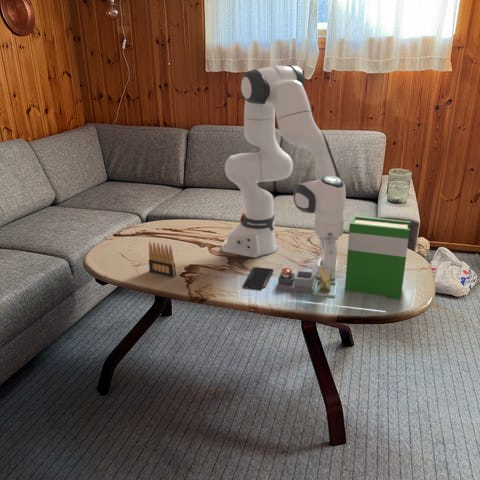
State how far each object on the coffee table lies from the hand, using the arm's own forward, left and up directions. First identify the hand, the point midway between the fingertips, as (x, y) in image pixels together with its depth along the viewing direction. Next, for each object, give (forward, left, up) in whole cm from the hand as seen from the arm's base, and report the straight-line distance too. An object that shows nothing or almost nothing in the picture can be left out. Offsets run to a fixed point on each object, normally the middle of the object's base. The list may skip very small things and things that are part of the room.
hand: (326, 266), depth 151 cm
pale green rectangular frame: (0, -1, -8) cm, 8 cm away
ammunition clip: (-58, -2, -9) cm, 59 cm away
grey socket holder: (-9, -1, -8) cm, 13 cm away
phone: (-23, +2, -9) cm, 25 cm away
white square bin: (0, +10, -8) cm, 13 cm away
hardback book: (+16, +3, -9) cm, 18 cm away
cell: (0, -1, -8) cm, 8 cm away
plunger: (-13, -1, -6) cm, 14 cm away
